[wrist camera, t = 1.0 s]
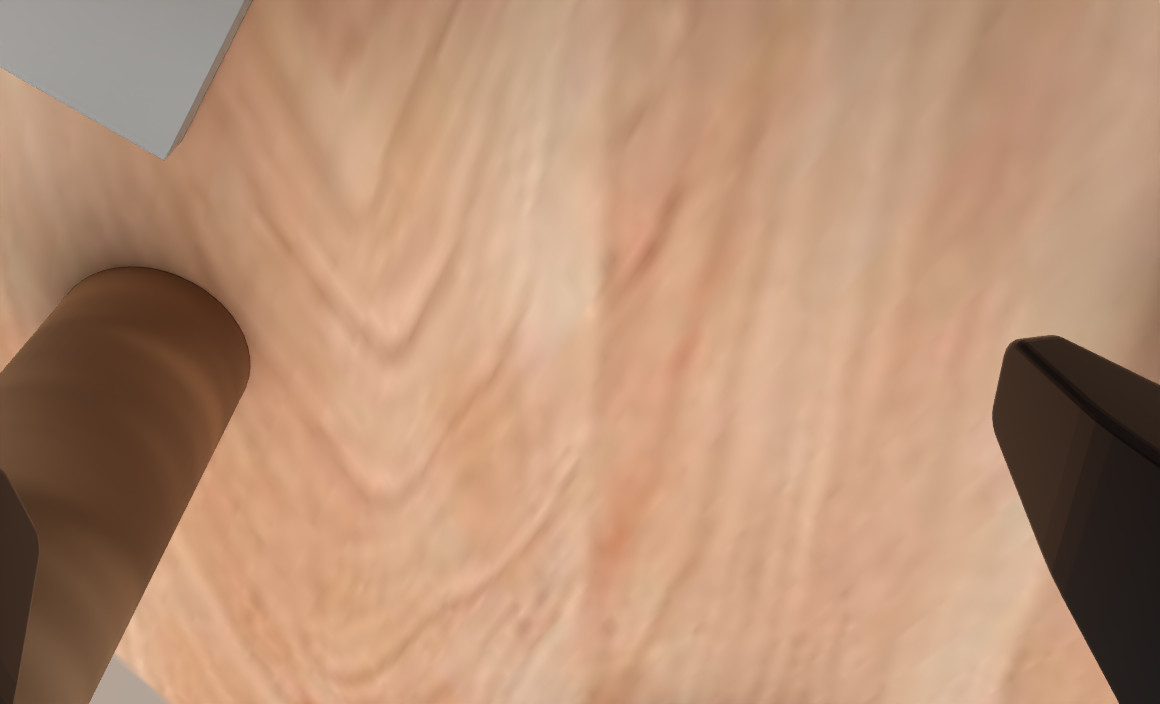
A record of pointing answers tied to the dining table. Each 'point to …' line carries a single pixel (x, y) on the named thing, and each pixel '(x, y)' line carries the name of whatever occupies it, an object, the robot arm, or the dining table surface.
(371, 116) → the dining table surface
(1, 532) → the robot arm
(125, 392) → the walnut peg
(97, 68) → the band dock
